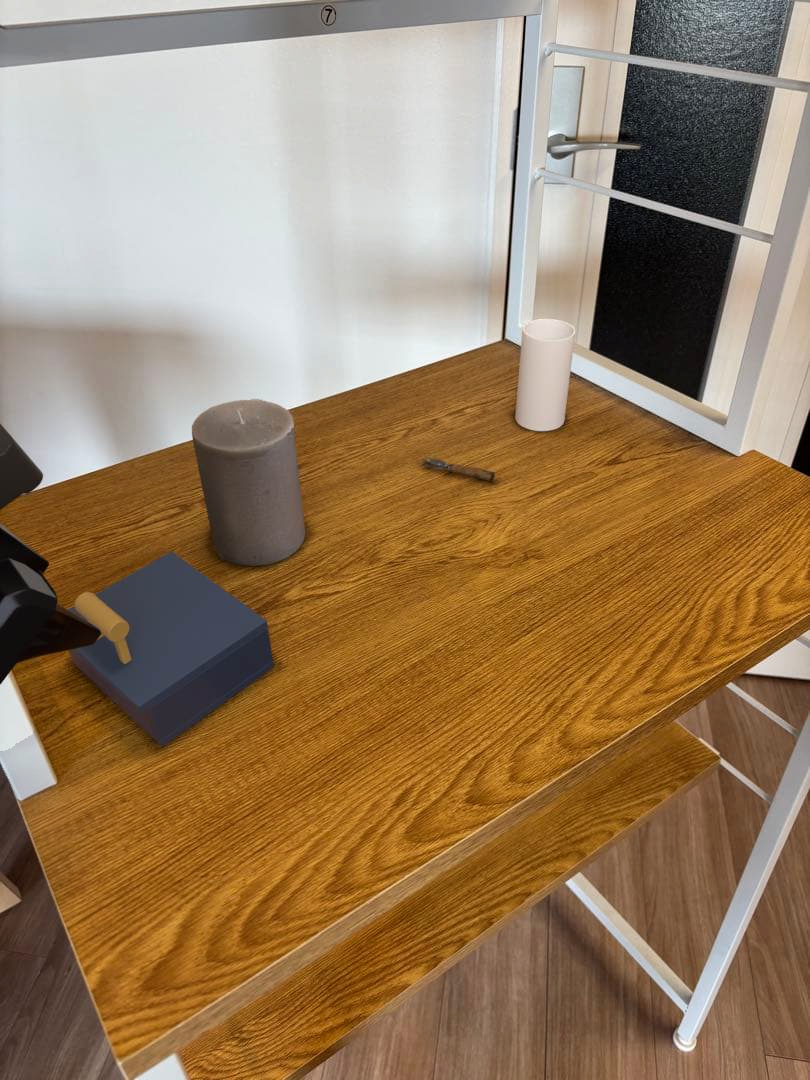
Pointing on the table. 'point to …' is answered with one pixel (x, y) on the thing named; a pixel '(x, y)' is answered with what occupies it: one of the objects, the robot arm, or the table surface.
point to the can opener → (461, 469)
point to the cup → (544, 374)
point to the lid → (162, 629)
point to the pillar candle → (250, 481)
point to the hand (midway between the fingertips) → (69, 601)
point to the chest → (194, 689)
